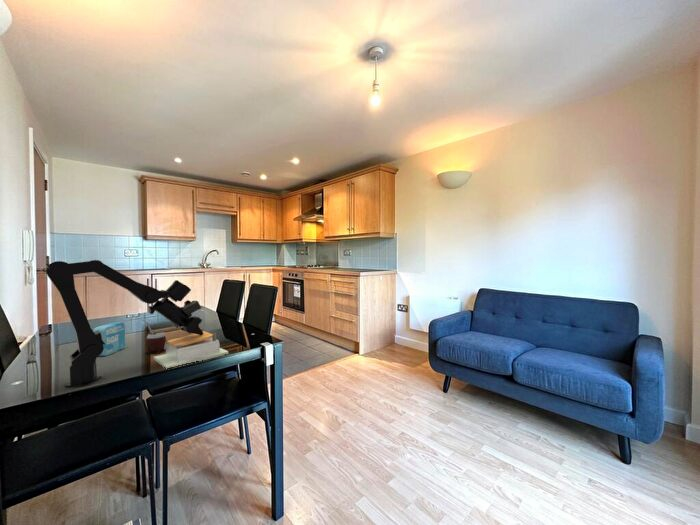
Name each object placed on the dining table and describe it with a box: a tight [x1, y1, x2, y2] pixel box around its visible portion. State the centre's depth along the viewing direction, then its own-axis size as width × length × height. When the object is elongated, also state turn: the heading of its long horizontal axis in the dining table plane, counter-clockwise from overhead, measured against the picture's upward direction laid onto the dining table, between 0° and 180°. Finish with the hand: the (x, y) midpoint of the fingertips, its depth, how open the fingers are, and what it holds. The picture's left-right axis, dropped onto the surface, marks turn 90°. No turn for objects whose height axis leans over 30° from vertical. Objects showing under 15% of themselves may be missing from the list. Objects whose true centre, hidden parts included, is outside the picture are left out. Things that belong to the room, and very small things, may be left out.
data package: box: [93, 321, 126, 357], centre depth 126 cm, size 12×4×12 cm, turn 4°
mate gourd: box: [139, 317, 167, 355], centre depth 124 cm, size 8×8×15 cm
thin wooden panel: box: [167, 330, 213, 348], centre depth 117 cm, size 14×11×1 cm
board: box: [153, 347, 229, 370], centre depth 117 cm, size 22×17×1 cm
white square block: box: [165, 327, 221, 363], centre depth 117 cm, size 15×15×8 cm
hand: (202, 334), depth 120 cm, fingers closed, pressing on thin wooden panel
